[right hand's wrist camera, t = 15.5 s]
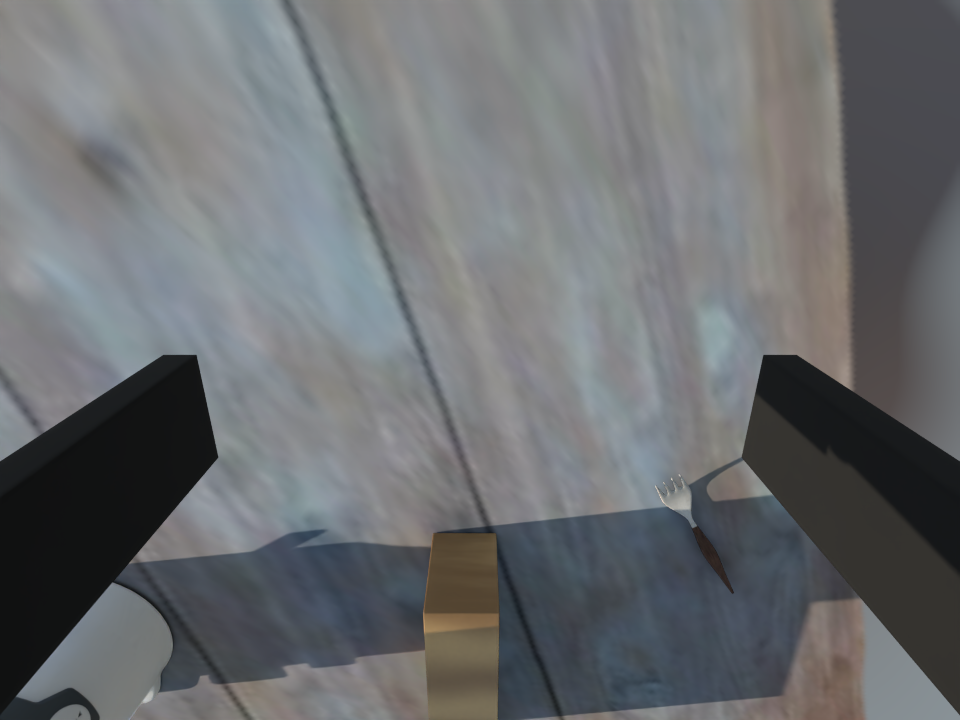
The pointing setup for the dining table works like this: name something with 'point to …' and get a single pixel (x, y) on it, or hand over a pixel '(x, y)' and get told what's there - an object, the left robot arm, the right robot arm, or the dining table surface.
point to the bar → (462, 627)
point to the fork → (692, 523)
